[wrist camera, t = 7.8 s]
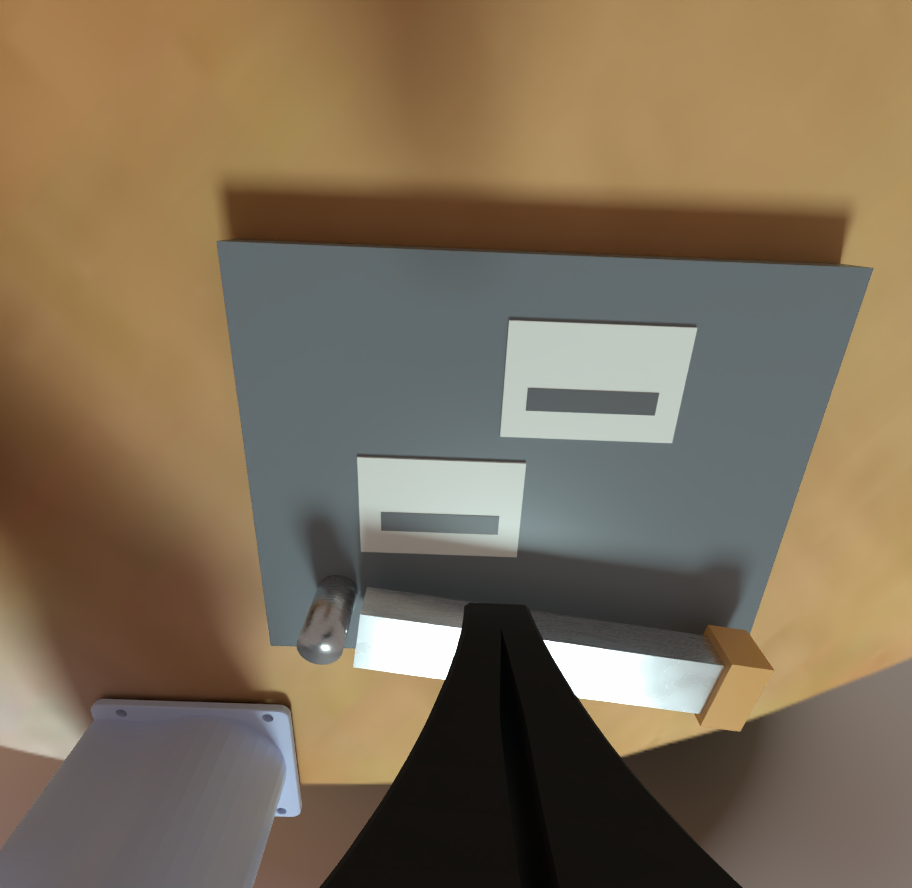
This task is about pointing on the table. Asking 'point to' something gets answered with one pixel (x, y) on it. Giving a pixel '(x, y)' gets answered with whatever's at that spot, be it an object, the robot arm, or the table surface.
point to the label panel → (525, 427)
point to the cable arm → (581, 656)
